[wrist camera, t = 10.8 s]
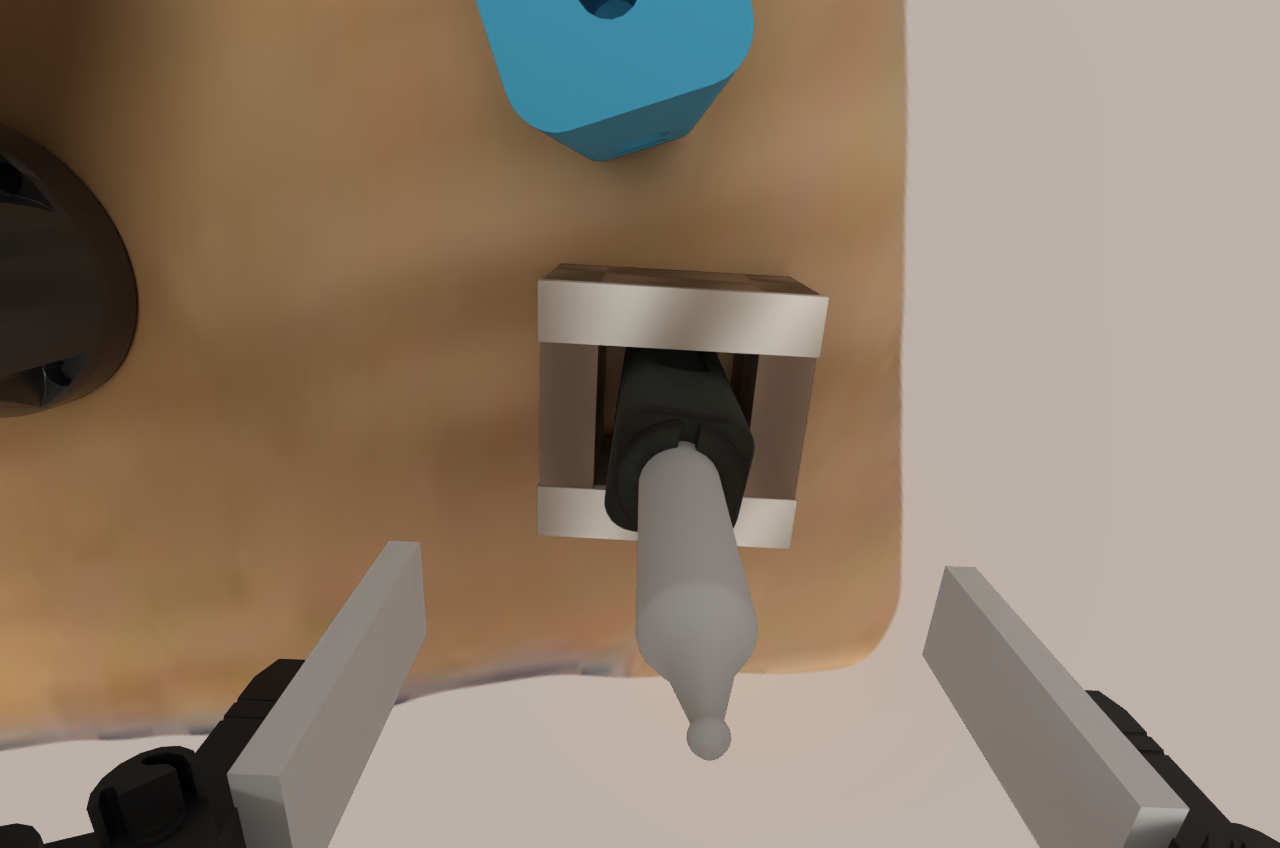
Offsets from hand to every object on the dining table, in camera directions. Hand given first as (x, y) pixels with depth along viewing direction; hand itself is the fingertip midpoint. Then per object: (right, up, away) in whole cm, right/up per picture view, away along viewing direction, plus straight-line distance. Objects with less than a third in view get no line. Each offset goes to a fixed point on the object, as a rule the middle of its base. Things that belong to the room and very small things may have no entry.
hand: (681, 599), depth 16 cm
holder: (+1, +7, +19) cm, 21 cm away
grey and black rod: (+1, +7, +20) cm, 21 cm away
